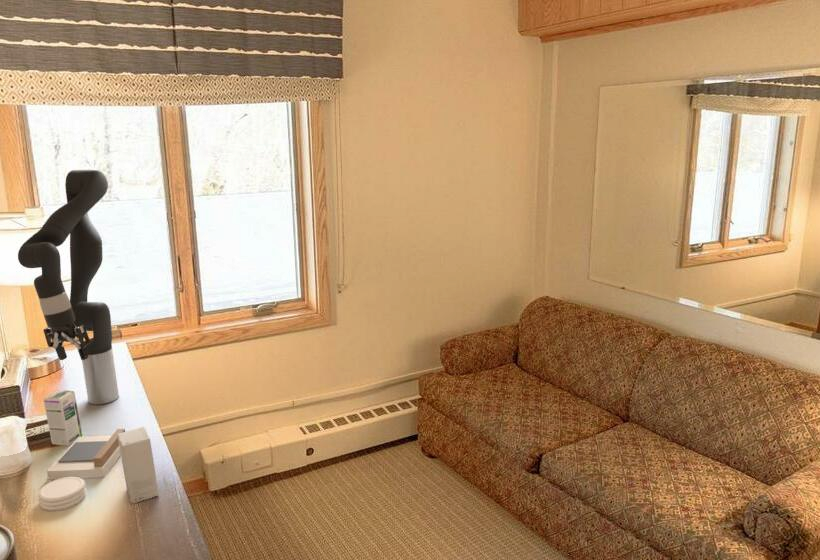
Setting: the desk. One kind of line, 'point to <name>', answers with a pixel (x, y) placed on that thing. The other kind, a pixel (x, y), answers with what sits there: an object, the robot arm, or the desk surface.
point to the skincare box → (138, 464)
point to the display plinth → (87, 457)
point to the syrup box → (63, 417)
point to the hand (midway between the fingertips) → (74, 359)
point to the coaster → (62, 493)
